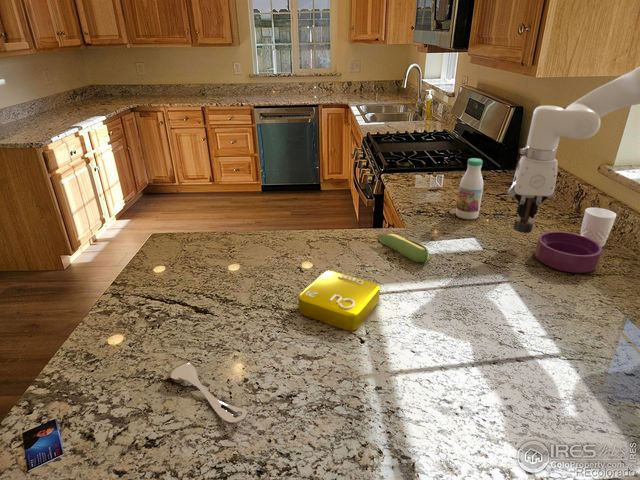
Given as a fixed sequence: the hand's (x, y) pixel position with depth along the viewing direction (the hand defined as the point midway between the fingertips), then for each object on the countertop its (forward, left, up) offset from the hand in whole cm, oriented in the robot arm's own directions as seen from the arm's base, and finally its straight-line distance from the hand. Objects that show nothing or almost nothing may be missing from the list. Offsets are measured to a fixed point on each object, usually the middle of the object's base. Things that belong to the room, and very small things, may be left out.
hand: (525, 215), depth 123 cm
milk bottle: (+12, -22, -10) cm, 27 cm away
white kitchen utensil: (+70, +70, -10) cm, 99 cm away
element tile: (+50, +39, -10) cm, 64 cm away
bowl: (-10, +8, -10) cm, 16 cm away
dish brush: (0, 0, -4) cm, 4 cm away
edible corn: (+35, +9, -10) cm, 37 cm away
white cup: (-22, -5, -10) cm, 25 cm away
